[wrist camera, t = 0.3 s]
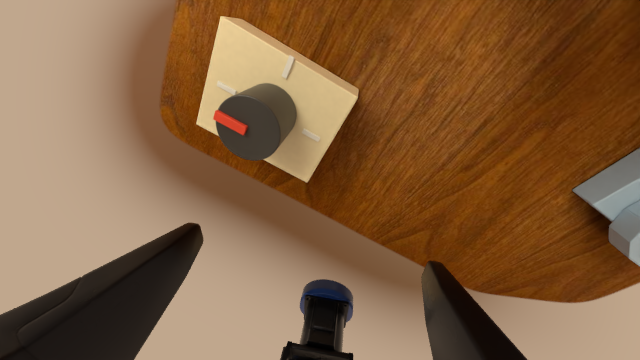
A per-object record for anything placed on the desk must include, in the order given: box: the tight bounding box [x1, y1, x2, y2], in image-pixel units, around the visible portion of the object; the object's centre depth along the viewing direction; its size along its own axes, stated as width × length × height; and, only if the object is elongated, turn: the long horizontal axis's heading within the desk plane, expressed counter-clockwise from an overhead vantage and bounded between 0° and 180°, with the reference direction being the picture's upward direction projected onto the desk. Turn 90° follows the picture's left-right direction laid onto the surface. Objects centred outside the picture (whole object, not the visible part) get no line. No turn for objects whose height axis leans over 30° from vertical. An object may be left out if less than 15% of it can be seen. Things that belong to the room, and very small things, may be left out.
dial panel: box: [196, 16, 359, 182], centre depth 19 cm, size 10×8×3 cm
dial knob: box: [213, 83, 297, 160], centre depth 16 cm, size 4×4×4 cm
